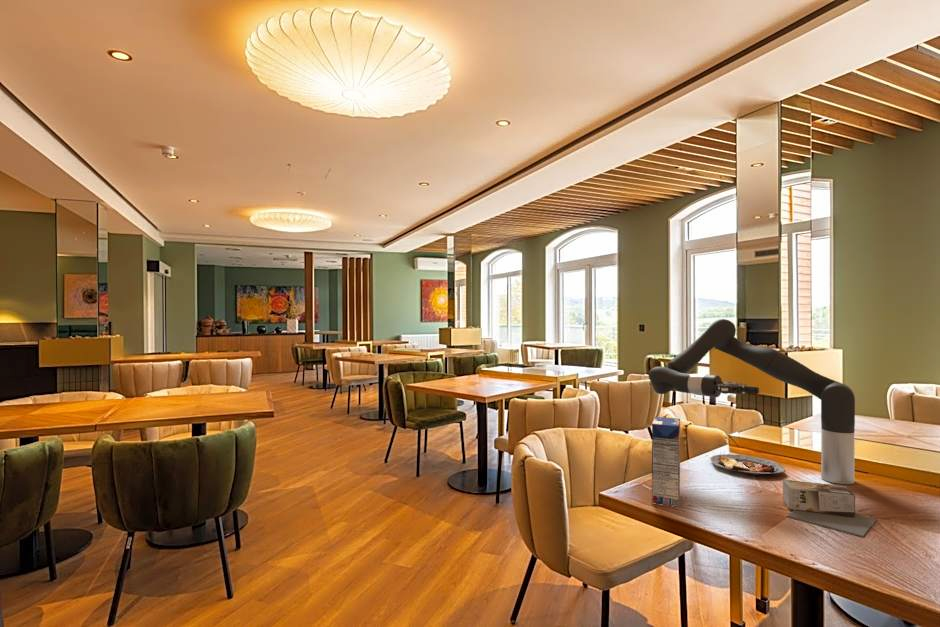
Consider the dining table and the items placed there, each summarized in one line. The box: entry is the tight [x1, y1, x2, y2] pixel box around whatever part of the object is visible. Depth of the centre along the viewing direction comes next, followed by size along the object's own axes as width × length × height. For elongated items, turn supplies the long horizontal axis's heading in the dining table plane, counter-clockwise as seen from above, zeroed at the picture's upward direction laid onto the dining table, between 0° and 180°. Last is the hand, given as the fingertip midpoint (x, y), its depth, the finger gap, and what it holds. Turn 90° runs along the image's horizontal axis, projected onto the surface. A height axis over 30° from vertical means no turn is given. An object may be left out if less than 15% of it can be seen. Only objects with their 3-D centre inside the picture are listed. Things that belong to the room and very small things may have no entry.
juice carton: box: [651, 416, 681, 508], centre depth 154 cm, size 12×8×24 cm, turn 156°
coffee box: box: [782, 479, 856, 517], centre depth 147 cm, size 9×6×16 cm
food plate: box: [709, 453, 786, 476], centre depth 186 cm, size 25×23×4 cm
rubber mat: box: [786, 509, 877, 538], centre depth 140 cm, size 16×17×1 cm
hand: (758, 390), depth 164 cm, fingers closed
